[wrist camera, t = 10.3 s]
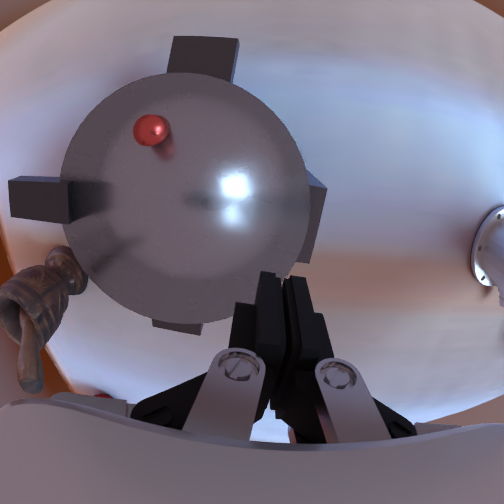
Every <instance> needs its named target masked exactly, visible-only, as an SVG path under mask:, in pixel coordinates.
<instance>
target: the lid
mask: <svg viewBox="0 0 504 504" xmlns="http://www.w3.org/2000/svg"><path fill="white" fill-rule="evenodd" d="M8 189H9V202H10V213H11V217H16V218H23V219H31V220H38V221H46V222H53V223H61V224H63V229H64V232H65V235H66V238H67V240H68V243H69V245H70V248H71V250H72V252H73V254H74V256H75V258H76V259H77V261H78V262H79V264H80V265H81V267H82V269H83V270H84V271H85V272H86V274H87V275H88V276H89V277H90V279H91V280H92V281H93V282H94V283H95V284H96V285H97V286H98V287H99V288H100V289H101V290H102V291H103V292H104V293H106V294H107V295H108V296H109V297H111V298H112V299H113V300H115V301H116V302H118V303H119V304H121V305H123V306H124V307H126V308H128V309H130V310H132V311H134V312H136V313H138V314H141V315H143V316H146V317H149V318H152V319H156V320H160V321H164V322H170V323H179V324H199V323H208V322H214V321H218V320H222V319H226V318H228V317H231V316H233V315H234V309H235V302H241V303H248V304H254V302H255V297H256V292H257V287H258V281H259V276H260V272H261V271H265V272H272V273H276V277H279V278H281V282H282V281H283V279H284V278H285V277H286V276H287V274H288V273H289V271H290V270H291V268H292V267H293V265H294V263H295V262H296V260H297V257H298V255H299V253H300V251H301V249H302V246H303V243H304V240H305V237H306V233H307V229H308V223H309V217H310V190H309V182H308V176H307V172H306V169H305V165H304V162H303V159H302V156H301V154H300V152H299V149H298V147H297V145H296V143H295V141H294V139H293V138H292V136H291V135H290V133H289V131H288V130H287V128H286V127H285V125H284V124H283V123H282V122H281V121H280V119H279V118H278V117H277V116H276V115H275V113H274V112H273V111H272V110H271V109H269V108H268V107H267V106H266V105H265V104H264V103H263V102H261V101H260V100H259V99H258V98H256V97H255V96H253V95H252V94H250V93H249V92H247V91H246V90H244V89H242V88H241V87H238V86H236V85H234V84H232V83H230V82H227V81H225V80H222V79H219V78H215V77H211V76H208V75H203V74H195V73H166V74H160V75H155V76H150V77H147V78H143V79H141V80H138V81H135V82H132V83H130V84H128V85H126V86H124V87H122V88H120V89H119V90H117V91H115V92H114V93H112V94H111V95H110V96H108V97H107V98H105V99H104V100H103V101H102V102H101V103H100V104H98V105H97V106H96V107H95V108H94V109H93V110H92V111H91V112H90V113H89V115H88V116H87V117H86V118H85V120H84V121H83V122H82V124H81V125H80V126H79V128H78V130H77V131H76V133H75V135H74V136H73V138H72V140H71V142H70V145H69V147H68V150H67V152H66V155H65V158H64V162H63V165H62V169H61V175H60V177H43V176H19V177H17V178H14V179H11V180H8Z"/></svg>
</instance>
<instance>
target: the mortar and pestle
mask: <svg viewBox="0 0 504 504" xmlns="http://www.w3.org/2000/svg"><path fill="white" fill-rule="evenodd" d="M87 281H88V275H87V274H86V272H85V271H84V270H83V269H82V267H81V265H80V264H79V262H78V261H77V259H76V258H75V256H74V254H73V252H72V250H71V249H69V248H67V247H57V248H55V249H53V250H52V251H51V252H50V253H49V255H48V256H47V258H46V260H45V266H44V265H36V266H33V267H29V268H27V269H24V270H22V271H20V272H18V273H17V274H16V275H14V276H13V277H12V278H11V279H9V281H7V282H6V283H5V284H3V285H2V286H1V287H0V325H1V327H2V328H3V329H4V330H5V332H6V333H7V335H8V336H9V337H10V338H11V339H12V340H13V341H15V342H16V343H17V344H18V345H20V352H19V357H18V367H17V376H18V381H19V384H20V386H21V387H22V389H23V390H24V391H26V392H27V393H30V394H36V393H39V392H40V391H41V390H42V388H43V383H44V377H43V376H44V375H43V369H42V363H41V358H40V352H39V351H40V350H41V349H43V348H44V346H45V344H46V343H47V342H48V341H49V339H50V338H51V337H52V335H53V334H54V333H55V331H56V330H57V328H58V327H59V325H60V323H61V320H62V317H63V313H64V312H65V310H66V309H67V306H68V302H69V298H68V295H77V294H78V295H79V294H81V293H82V292H83V291H84V290H85V288H86V286H87Z"/></svg>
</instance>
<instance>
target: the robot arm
mask: <svg viewBox="0 0 504 504" xmlns="http://www.w3.org/2000/svg"><path fill="white" fill-rule="evenodd" d="M471 267H472V272H473V274H474V276H475V278H476V279H477V280H478V281H479V282H480V283H481V284H483V285H486V286H492V285H496V286H497V287H498V291H499V292H500V295H499V304H500V306H502V307H504V206H502V207H499V208H497V209H495V210H494V211H492V212H491V213H490V214H489V215H488V216H487V218H486V219H485V220H484V221H483V223H482V225H481V226H480V228H479V230H478V232H477V235H476V237H475V240H474V243H473V248H472V253H471ZM269 399H270V409H271V410H275V416H276V419H282V420H283V421H284V422H285V423H286V424H288V425H289V426H288V436H289V440H290V443H272V442H259V441H249V439H250V435H251V431H252V427H253V424H254V423H255V422H257V421H258V420H260V419H261V418H262V417H263V414H264V411H265V409H266V408H267V405H268V402H269ZM0 504H504V424H499V423H491V424H490V423H485V424H477V425H469V426H464V427H462V426H459V425H446V424H430V423H418V422H416V423H415V424H414V425H413V424H412V423H411V422H410V421H408V420H407V419H406V418H404V417H403V416H401V415H400V414H398V413H396V412H395V411H393V410H392V409H390V408H389V407H387V406H385V405H384V404H382V403H381V402H379V401H378V400H376V399H375V398H373V397H372V396H371V394H370V392H369V390H368V388H367V386H366V384H365V382H364V380H363V378H362V376H361V374H360V372H359V371H358V370H357V368H356V367H355V366H353V365H352V364H351V363H349V362H347V361H345V360H342V359H339V358H334V354H333V350H332V346H331V343H330V339H329V335H328V331H327V328H326V324H325V320H324V317H323V314H321V313H314V310H313V306H312V302H311V298H310V294H309V290H308V286H307V282H306V278H305V277H298V276H292V275H291V276H290V278H289V279H286V278H285V279H284V281H283V285H282V287H281V278H279V277H276V273H272V272H265V271H261V272H260V276H259V281H258V287H257V292H256V297H255V302H254V304H248V303H241V302H235V309H234V315H233V321H232V328H231V334H230V341H229V347H228V349H225V350H222V351H221V352H219V353H218V354H217V355H216V356H215V357H214V359H213V361H212V363H211V365H210V368H209V370H208V372H206V373H204V374H202V375H200V376H198V377H195V378H193V379H191V380H189V381H186V382H184V383H182V384H180V385H177V386H175V387H173V388H170V389H168V390H166V391H163V392H161V393H158V394H156V395H154V396H151V397H149V398H146V399H144V400H142V401H140V402H139V403H137V404H128V403H127V400H121V399H111V398H103V397H95V396H88V395H81V394H75V393H69V392H61V393H58V394H55V395H53V396H52V397H51V398H50V399H40V398H26V399H18V400H15V401H12V402H10V403H8V404H6V405H4V406H3V407H2V408H1V409H0Z"/></svg>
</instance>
